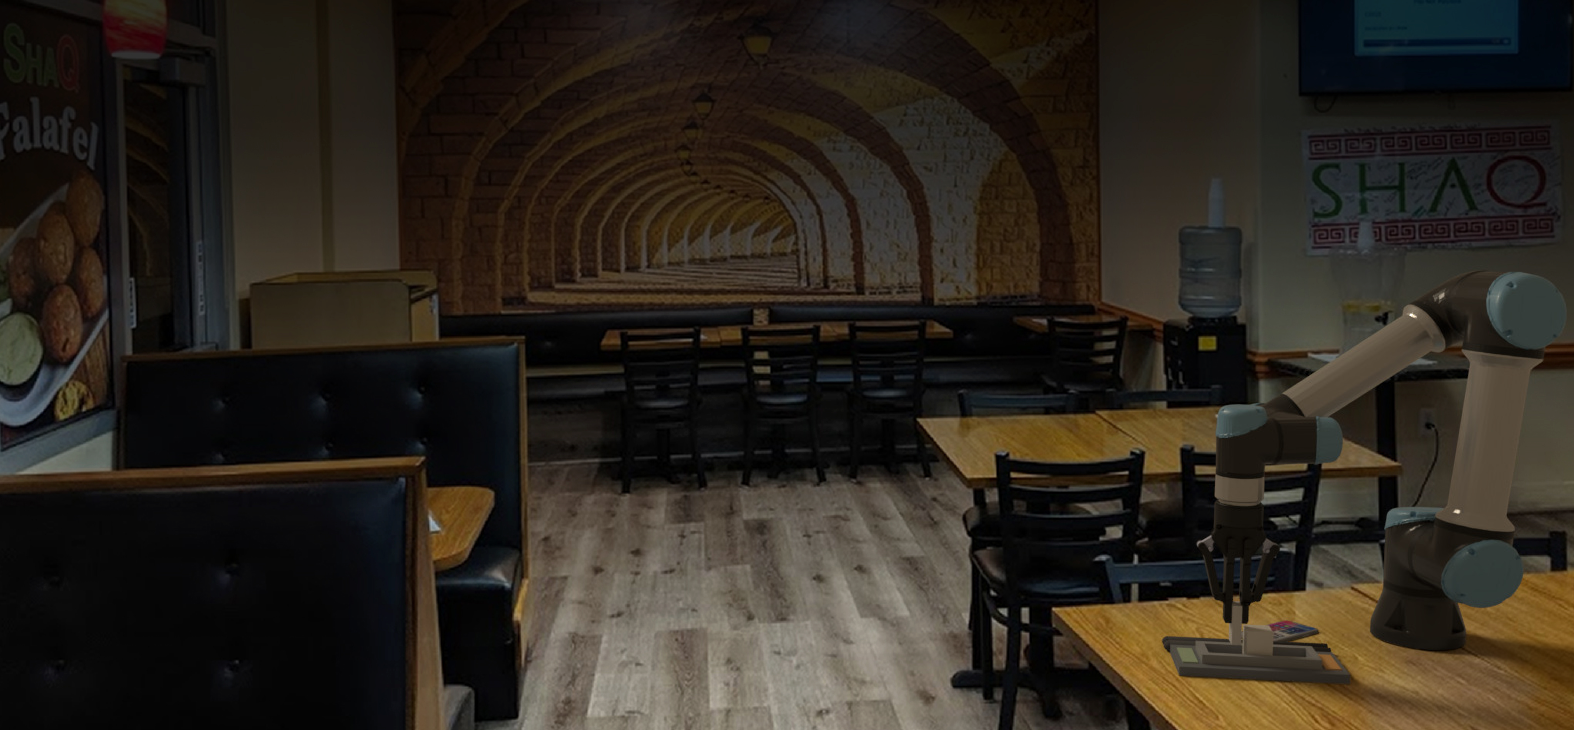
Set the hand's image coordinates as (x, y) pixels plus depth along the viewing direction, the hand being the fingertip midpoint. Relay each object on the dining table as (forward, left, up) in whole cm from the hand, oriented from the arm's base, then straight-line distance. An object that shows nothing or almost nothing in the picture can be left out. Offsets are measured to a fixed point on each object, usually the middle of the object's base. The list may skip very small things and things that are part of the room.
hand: (1234, 641), depth 208 cm
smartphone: (-11, -19, -5) cm, 22 cm away
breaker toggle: (-4, 0, -3) cm, 4 cm away
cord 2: (-4, -7, -4) cm, 9 cm away
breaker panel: (-4, 0, -4) cm, 5 cm away
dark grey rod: (-4, -9, -4) cm, 10 cm away
